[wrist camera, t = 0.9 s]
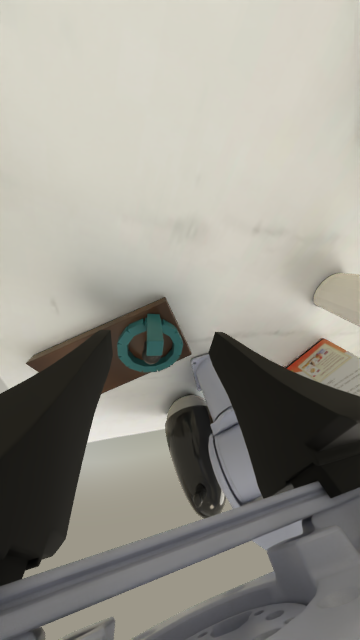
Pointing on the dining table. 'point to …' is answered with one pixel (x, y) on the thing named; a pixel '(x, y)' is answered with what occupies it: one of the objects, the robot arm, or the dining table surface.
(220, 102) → the dining table surface
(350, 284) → the cream cup
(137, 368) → the ring
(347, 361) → the cracker box
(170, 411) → the pump dispenser
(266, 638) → the robot arm
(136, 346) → the peg rack
